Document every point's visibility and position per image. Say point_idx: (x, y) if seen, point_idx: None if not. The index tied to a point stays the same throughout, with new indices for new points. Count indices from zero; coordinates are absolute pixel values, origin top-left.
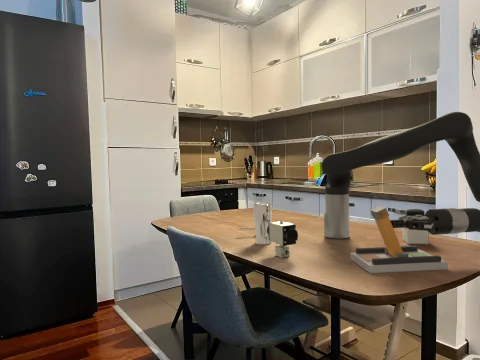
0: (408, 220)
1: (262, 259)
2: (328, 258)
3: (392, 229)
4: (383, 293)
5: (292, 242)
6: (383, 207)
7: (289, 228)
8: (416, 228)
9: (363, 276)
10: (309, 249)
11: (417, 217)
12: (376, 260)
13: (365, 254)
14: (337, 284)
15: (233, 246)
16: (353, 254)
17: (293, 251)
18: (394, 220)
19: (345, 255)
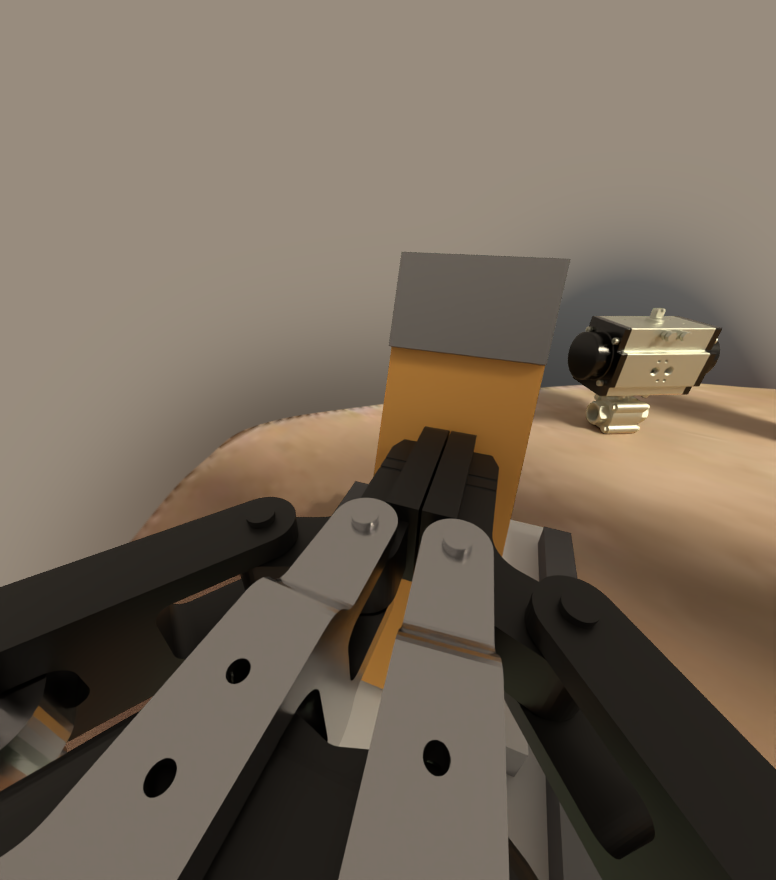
0: (317, 539)
1: (578, 398)
2: (577, 498)
3: (377, 467)
4: (231, 447)
5: (574, 376)
6: (446, 256)
7: (602, 331)
8: (190, 602)
9: (347, 476)
10: (744, 510)
11: (206, 781)
12: (351, 487)
13: (519, 566)
14: (340, 420)
15: (726, 394)
16: (530, 525)
17: (688, 462)
18: (427, 448)
19: (633, 573)
